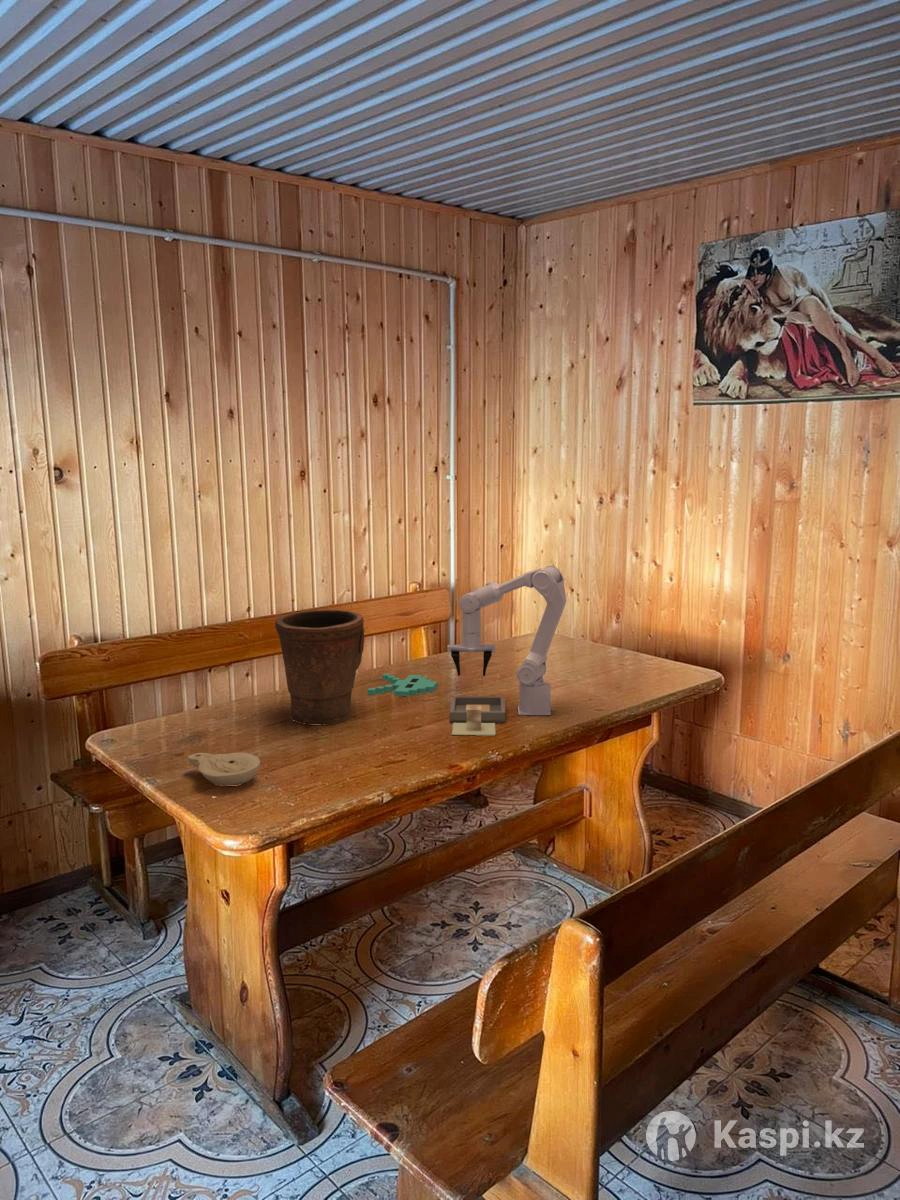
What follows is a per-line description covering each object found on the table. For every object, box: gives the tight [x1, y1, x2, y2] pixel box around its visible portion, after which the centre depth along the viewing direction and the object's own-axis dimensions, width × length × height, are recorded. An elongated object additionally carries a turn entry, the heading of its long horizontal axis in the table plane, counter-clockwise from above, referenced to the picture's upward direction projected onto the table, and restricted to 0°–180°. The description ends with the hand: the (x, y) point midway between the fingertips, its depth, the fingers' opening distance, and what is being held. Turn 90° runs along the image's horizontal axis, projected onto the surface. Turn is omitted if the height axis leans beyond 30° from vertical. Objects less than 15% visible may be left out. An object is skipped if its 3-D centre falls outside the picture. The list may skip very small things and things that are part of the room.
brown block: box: [467, 706, 481, 731], centre depth 250 cm, size 4×4×6 cm
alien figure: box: [367, 673, 438, 698], centre depth 292 cm, size 20×2×20 cm
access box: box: [449, 695, 506, 724], centre depth 264 cm, size 16×16×3 cm
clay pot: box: [274, 609, 365, 726], centre depth 263 cm, size 25×29×30 cm
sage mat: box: [451, 723, 496, 737], centre depth 250 cm, size 12×10×1 cm
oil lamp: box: [187, 752, 261, 786], centre depth 216 cm, size 21×14×5 cm
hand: (471, 674), depth 272 cm, fingers open, 7 cm apart
